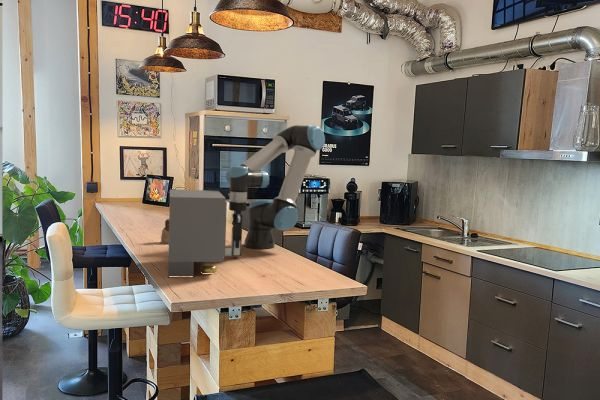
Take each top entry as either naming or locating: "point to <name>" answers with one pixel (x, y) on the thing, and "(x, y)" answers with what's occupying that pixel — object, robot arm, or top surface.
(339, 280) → the top surface
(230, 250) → the grey l-shaped bracket
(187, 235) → the cabinet
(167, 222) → the figurine
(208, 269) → the gold bowl
